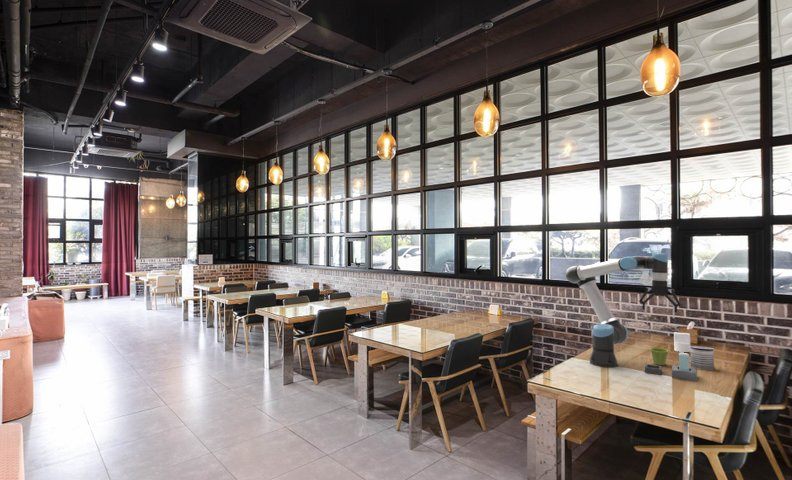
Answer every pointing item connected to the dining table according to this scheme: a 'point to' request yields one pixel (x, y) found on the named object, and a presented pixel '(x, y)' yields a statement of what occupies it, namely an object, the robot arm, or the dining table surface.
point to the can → (702, 357)
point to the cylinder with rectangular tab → (682, 342)
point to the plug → (683, 361)
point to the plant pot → (659, 356)
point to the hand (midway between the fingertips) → (659, 316)
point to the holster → (653, 369)
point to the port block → (684, 373)
